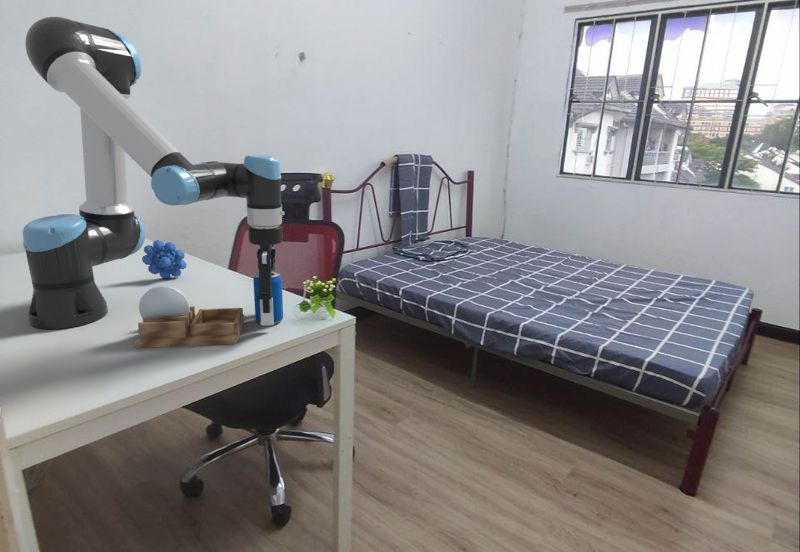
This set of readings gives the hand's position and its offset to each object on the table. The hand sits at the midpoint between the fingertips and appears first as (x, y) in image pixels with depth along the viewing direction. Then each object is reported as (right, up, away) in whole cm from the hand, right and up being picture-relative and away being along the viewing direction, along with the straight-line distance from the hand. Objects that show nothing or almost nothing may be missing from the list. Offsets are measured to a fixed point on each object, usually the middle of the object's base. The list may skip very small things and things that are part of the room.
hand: (269, 315), depth 112 cm
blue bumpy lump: (-38, +8, +27) cm, 47 cm away
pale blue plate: (-20, -2, -9) cm, 22 cm away
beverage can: (0, -2, +1) cm, 2 cm away
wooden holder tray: (-15, -3, -7) cm, 17 cm away
